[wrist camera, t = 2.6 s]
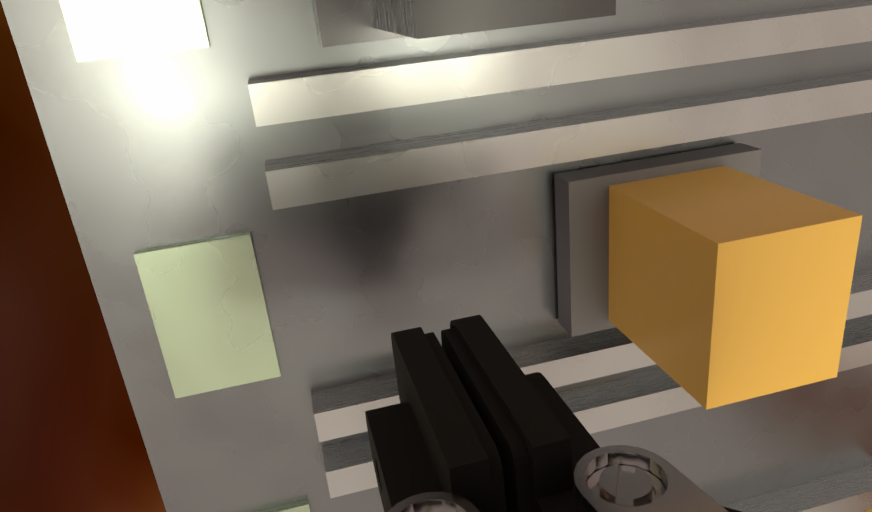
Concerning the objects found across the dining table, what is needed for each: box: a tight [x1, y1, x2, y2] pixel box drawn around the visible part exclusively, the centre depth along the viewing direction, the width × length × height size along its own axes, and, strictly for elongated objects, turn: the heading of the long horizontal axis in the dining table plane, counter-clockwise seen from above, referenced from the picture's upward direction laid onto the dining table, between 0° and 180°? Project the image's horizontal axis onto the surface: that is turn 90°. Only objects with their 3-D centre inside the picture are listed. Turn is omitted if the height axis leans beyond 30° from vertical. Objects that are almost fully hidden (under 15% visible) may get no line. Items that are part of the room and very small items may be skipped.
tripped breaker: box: [554, 143, 863, 410], centre depth 15 cm, size 4×5×5 cm
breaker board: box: [1, 0, 872, 512], centre depth 16 cm, size 22×26×7 cm
